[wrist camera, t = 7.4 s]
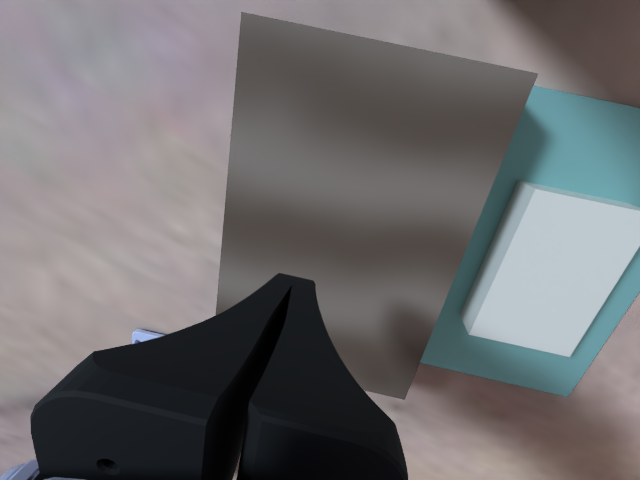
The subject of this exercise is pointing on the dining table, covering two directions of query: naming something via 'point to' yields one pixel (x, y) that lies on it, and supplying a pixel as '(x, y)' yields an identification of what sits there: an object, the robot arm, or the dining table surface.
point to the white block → (550, 267)
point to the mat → (563, 173)
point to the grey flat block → (361, 181)
